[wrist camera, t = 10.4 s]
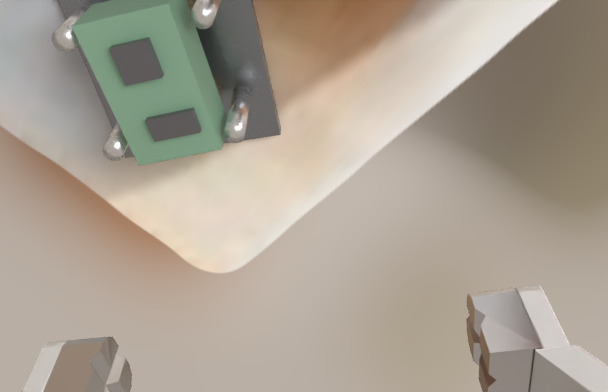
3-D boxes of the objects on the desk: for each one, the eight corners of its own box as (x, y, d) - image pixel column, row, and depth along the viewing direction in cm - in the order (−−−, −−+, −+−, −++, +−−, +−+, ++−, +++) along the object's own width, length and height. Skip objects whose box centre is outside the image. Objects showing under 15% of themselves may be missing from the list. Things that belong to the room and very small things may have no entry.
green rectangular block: (92, 4, 35) (67, 30, 32) (180, -17, 35) (165, 7, 31) (151, 136, 41) (136, 170, 38) (228, 120, 40) (220, 153, 37)
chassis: (43, -50, 37) (-3, -21, 31) (233, -86, 35) (220, -62, 30) (128, 151, 46) (104, 201, 40) (280, 128, 45) (277, 177, 39)
